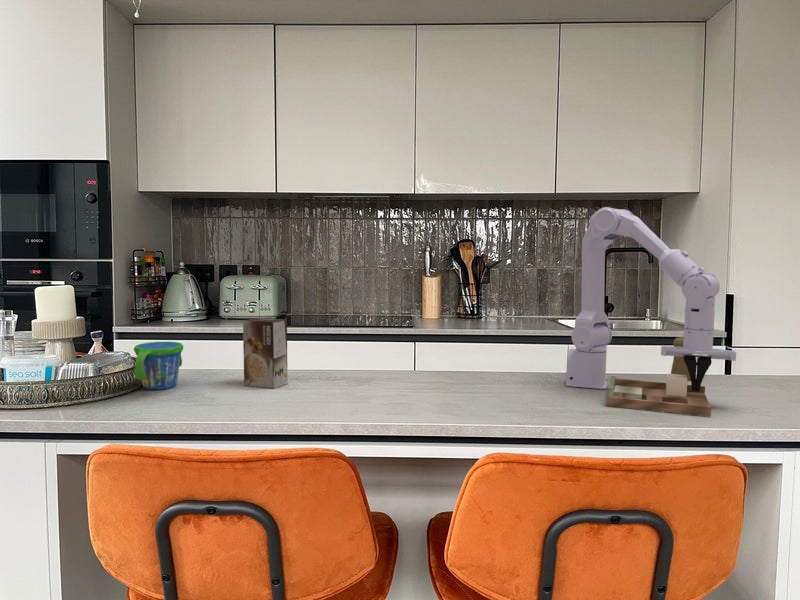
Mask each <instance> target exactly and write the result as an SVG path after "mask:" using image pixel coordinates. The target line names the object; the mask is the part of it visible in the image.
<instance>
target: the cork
mask: <svg viewBox="0 0 800 600" xmlns="http://www.w3.org/2000/svg"><path fill="white" fill-rule="evenodd" d="M683 343H684V336H680V337H675V338H674V340H673V343H672V344H673V345H672V346H679V347H683ZM688 354H689V353H688ZM690 355H694V354H690ZM671 365H672V366H671V370H670V374H678V375H686V376H687V382H688V381H689V382H691V379H690V375H689V371H688V368H687V366H686V363H685V361H684V359H683V357H681V356H673V360H672V364H671Z"/></svg>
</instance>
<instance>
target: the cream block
mask: <svg viewBox="0 0 800 600" xmlns="http://www.w3.org/2000/svg"><path fill="white" fill-rule="evenodd" d="M665 379H666V380H665V383H666V395H674V396H684V397H686V396H687V385H688V381H687V376H686V375H678V374H671V373H666V378H665Z"/></svg>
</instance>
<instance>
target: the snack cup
mask: <svg viewBox="0 0 800 600" xmlns="http://www.w3.org/2000/svg"><path fill="white" fill-rule="evenodd" d="M183 350H184V345H183V343H182V342H178V341H152V342H151V341H150V342H144V343H140V344H139V343H138V344H137V345H135V346H134V347H133V351H134V353H135V355H136V360H135V363H134V364H135V366H134V371H133V372H134V373H133V374H134V378H135V379H137V380H141V384H142V388H143V389H144V388H145V389H147V390H153V391H155V390H156V391H157V390H160V391H161V390H167V389H168V390H169V389H171V388H173V387H175V386H177V384H178V377H179V372H180V371H179V370H180V368H181V366H182V365H183V358H182V354H181V353H182V352H183Z"/></svg>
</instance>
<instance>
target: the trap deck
mask: <svg viewBox="0 0 800 600" xmlns="http://www.w3.org/2000/svg"><path fill="white" fill-rule="evenodd" d="M705 392H706V386H705V385H701V386H700V391H692V385H691V384H687V396H686V397H684V396H674V395H666V382H660V381H652V380H651V381H648V380H641V379H640V380H636V379H625V378H617V377H616V376H615V375H610V376H609V380H608V384H607V387H606V401H605V405H606V407H609V408H610V407H611V408H612V407H613V408H620V409H628V408H633V409H632V410H638V409H645V410H644V411H647V410H655V411H654V412H657V411H664V412H663V413H667V412H673V413H672V414H676V413H681V414H680V415H686V414H690V416H695V415H701V416H700V417H705V416H710V417H711V415H712V413H711V410H712V407H711V405H710V402H709V399H708V398H707V395H706V393H705Z"/></svg>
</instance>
